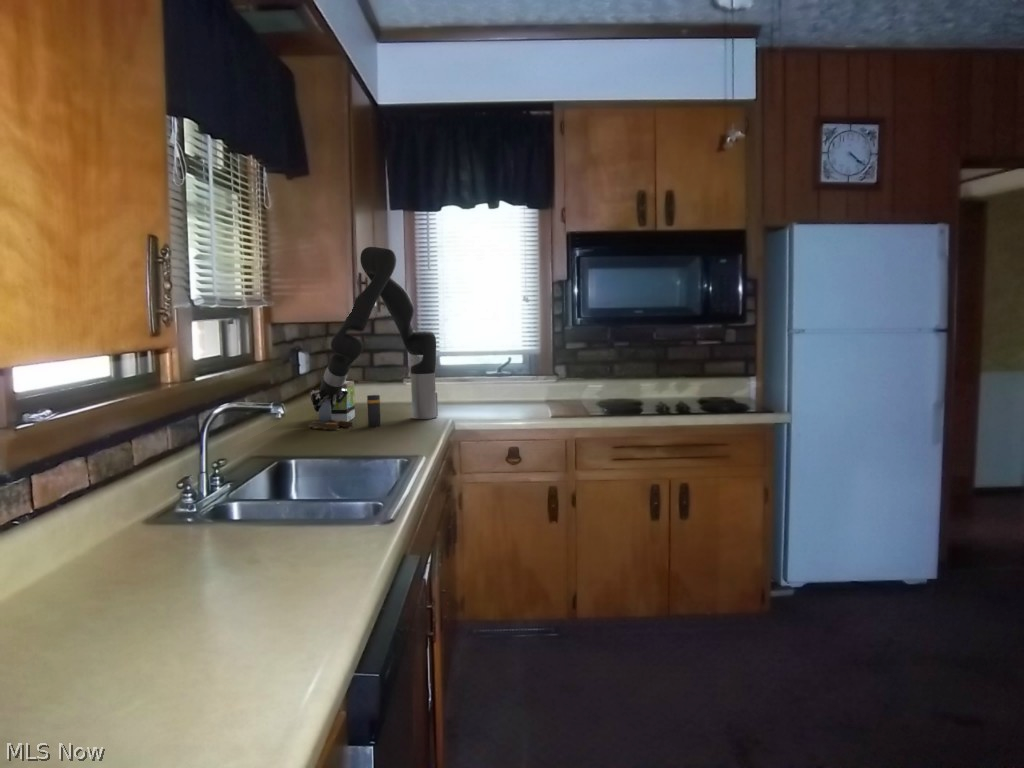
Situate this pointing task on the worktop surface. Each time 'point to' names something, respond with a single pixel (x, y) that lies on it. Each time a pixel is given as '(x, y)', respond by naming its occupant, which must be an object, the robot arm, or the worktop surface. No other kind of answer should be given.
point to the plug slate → (325, 411)
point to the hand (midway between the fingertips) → (322, 409)
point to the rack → (330, 424)
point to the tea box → (345, 405)
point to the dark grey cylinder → (373, 410)
